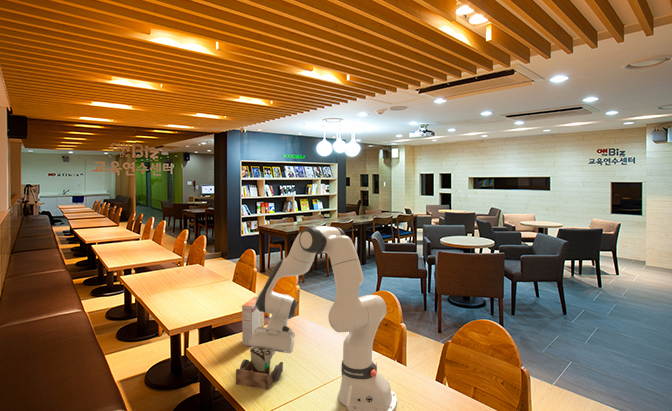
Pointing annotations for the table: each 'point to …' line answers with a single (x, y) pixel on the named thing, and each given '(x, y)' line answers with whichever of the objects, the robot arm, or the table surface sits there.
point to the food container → (261, 359)
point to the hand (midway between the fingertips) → (266, 359)
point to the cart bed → (257, 376)
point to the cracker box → (250, 320)
